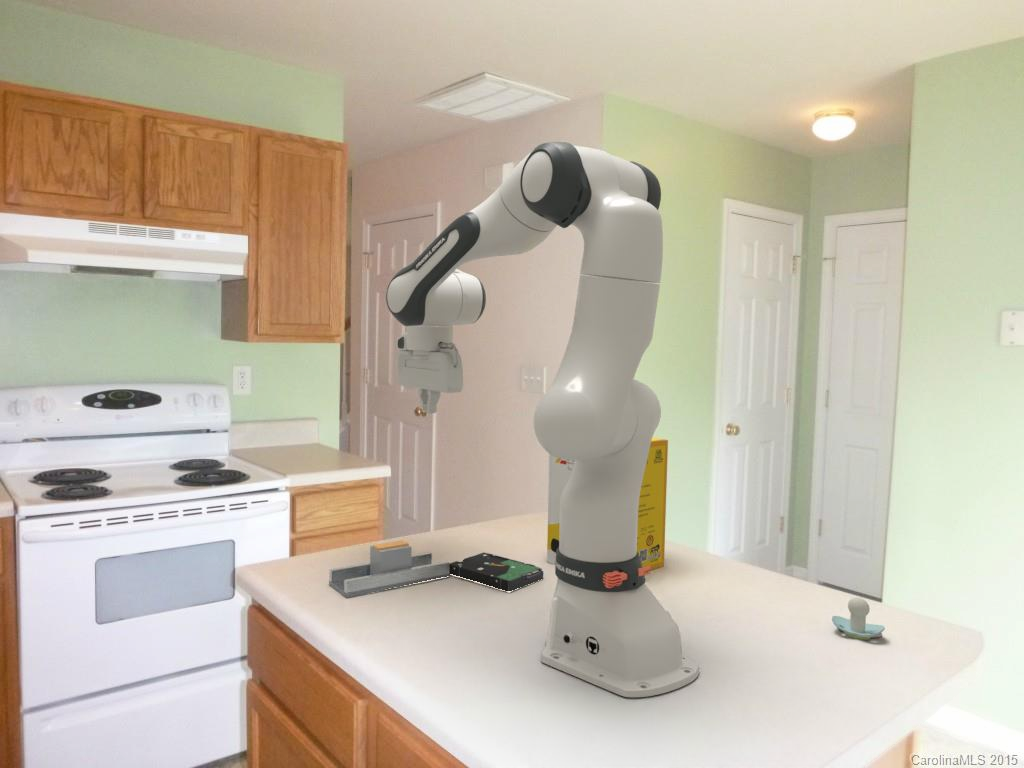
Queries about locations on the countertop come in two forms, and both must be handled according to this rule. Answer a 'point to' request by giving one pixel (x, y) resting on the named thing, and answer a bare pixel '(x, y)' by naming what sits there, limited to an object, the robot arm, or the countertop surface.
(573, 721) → the countertop surface
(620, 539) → the robot arm
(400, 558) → the module
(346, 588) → the rail
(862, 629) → the pacifier
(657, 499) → the packaging box
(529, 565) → the disk drive
